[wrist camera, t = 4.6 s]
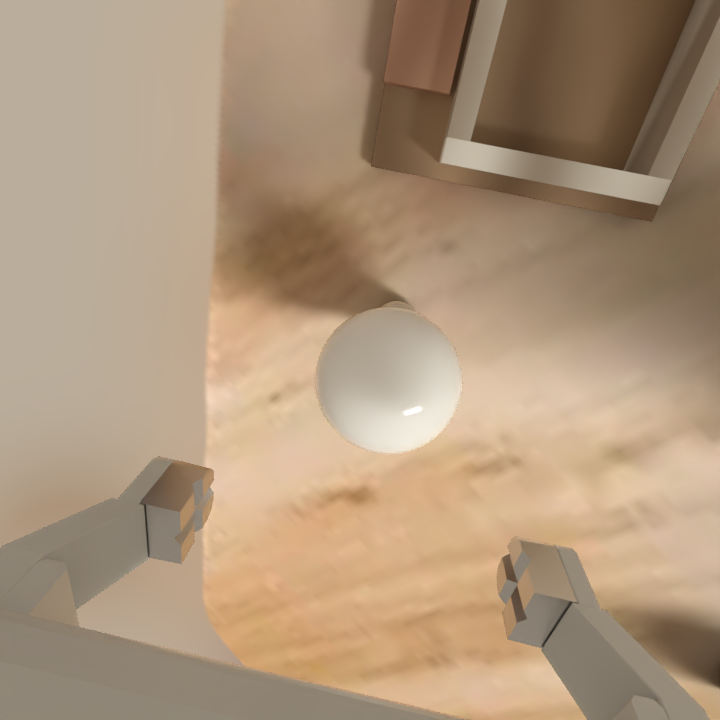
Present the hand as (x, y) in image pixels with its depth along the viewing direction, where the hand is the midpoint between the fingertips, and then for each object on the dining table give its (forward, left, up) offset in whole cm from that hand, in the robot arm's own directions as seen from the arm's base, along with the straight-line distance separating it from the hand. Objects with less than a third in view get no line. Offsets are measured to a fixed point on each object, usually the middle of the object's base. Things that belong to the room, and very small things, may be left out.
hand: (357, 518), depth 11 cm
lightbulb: (0, 0, -16) cm, 16 cm away
